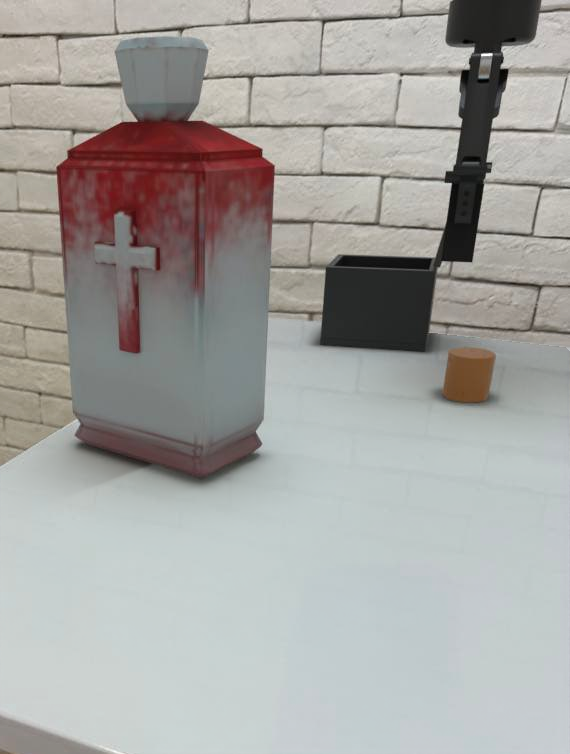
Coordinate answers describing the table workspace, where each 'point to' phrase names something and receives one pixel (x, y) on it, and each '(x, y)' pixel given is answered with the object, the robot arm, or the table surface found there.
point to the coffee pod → (468, 374)
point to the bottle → (167, 272)
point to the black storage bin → (378, 301)
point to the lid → (439, 251)
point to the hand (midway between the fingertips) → (458, 251)
